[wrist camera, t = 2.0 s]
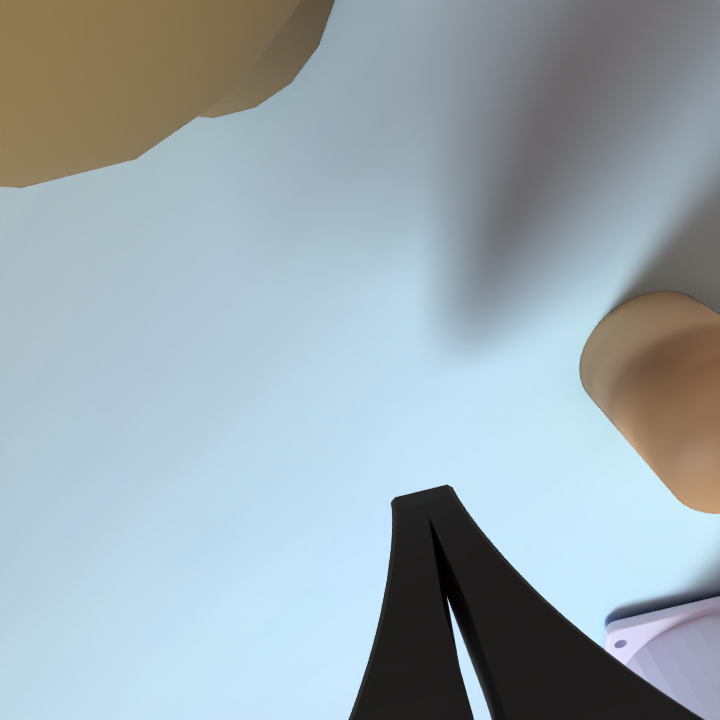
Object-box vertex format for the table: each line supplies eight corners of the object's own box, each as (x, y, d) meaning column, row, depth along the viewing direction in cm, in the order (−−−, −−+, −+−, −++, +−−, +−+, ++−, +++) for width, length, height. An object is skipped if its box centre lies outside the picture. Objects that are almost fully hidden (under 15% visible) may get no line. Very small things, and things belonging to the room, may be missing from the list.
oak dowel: (706, 393, 17) (825, 491, 14) (581, 423, 18) (663, 529, 14) (718, 275, 15) (860, 350, 12) (577, 311, 16) (671, 396, 12)
